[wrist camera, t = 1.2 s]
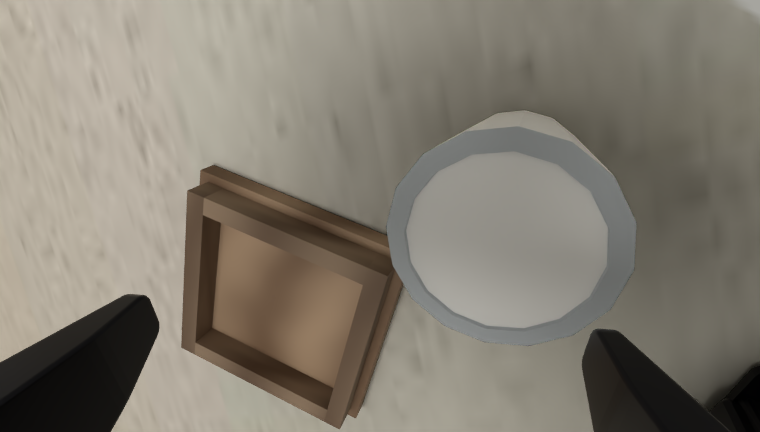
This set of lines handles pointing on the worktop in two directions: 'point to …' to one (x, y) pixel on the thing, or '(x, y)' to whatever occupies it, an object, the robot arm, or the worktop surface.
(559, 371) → the worktop surface
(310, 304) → the walnut holder
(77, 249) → the worktop surface
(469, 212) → the white cup
